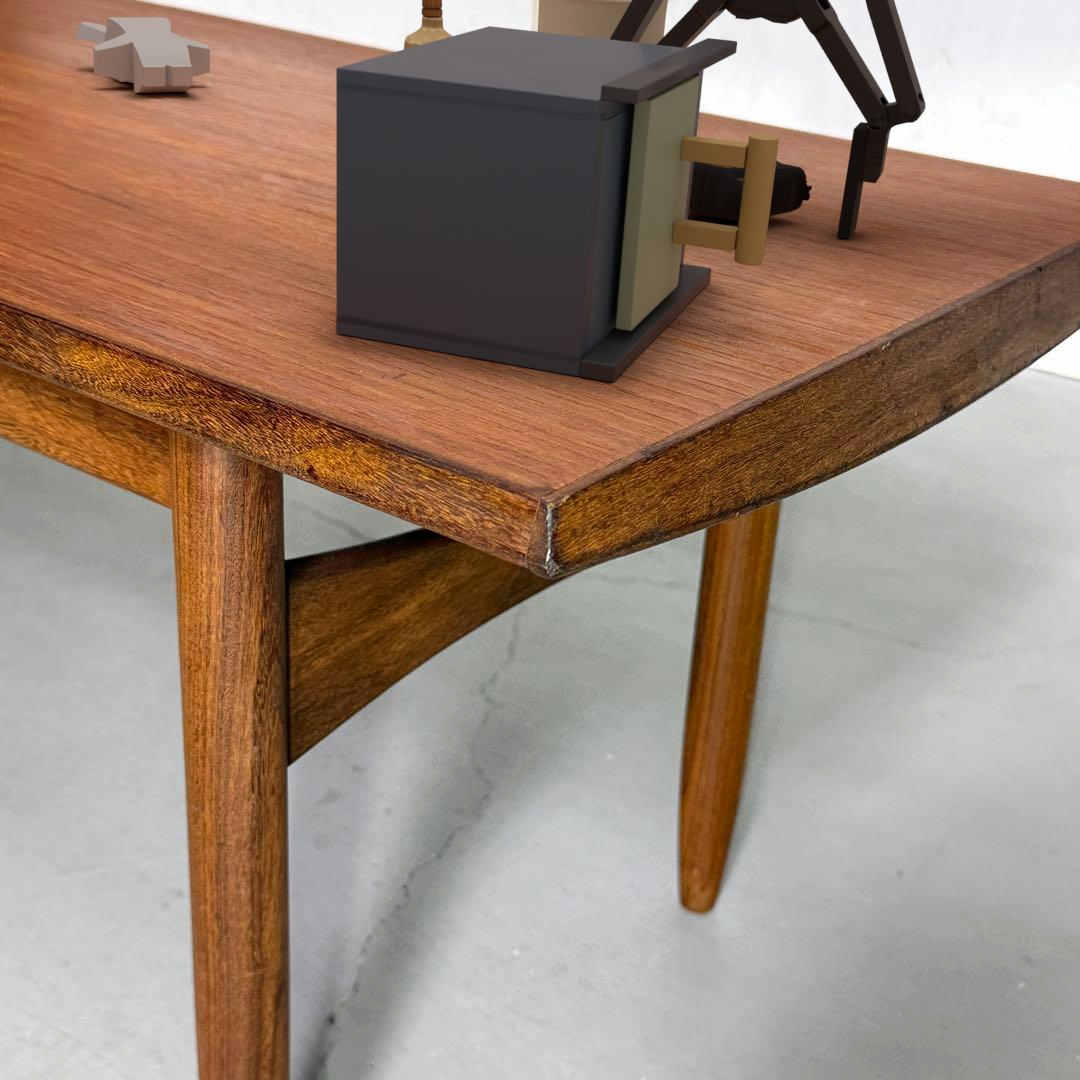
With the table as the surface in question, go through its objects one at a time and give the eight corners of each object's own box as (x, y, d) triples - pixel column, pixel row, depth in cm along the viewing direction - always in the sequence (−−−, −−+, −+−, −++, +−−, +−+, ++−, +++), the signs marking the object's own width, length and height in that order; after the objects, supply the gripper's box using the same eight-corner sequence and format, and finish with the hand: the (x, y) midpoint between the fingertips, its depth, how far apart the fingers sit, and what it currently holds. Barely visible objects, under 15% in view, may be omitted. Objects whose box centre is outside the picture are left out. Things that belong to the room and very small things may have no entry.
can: (663, 153, 112) (679, -17, 106) (642, 177, 104) (659, -4, 98) (543, 140, 113) (554, -28, 108) (514, 163, 105) (524, -17, 100)
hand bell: (442, 119, 119) (449, -98, 112) (359, 103, 122) (361, -107, 115) (499, 106, 125) (508, -99, 118) (419, 92, 129) (423, -108, 122)
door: (765, 300, 74) (792, 86, 70) (726, 347, 67) (754, 112, 63) (663, 283, 76) (683, 73, 71) (614, 329, 69) (634, 98, 64)
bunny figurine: (108, 47, 115) (62, -2, 126) (110, 112, 118) (65, 59, 129) (226, 45, 120) (172, -2, 130) (226, 108, 122) (173, 57, 133)
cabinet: (710, 282, 81) (737, 41, 75) (613, 383, 66) (638, 89, 60) (479, 246, 85) (488, 14, 79) (335, 333, 69) (335, 53, 64)
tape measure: (735, 237, 90) (742, 175, 89) (655, 212, 95) (660, 152, 93) (807, 224, 94) (815, 164, 93) (727, 200, 99) (734, 143, 97)
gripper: (1014, -134, 85) (945, 232, 94) (597, -167, 92) (571, 178, 101) (1005, -133, 78) (931, 260, 88) (558, -168, 85) (534, 200, 95)
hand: (739, 217), depth 94 cm, fingers open, 13 cm apart
